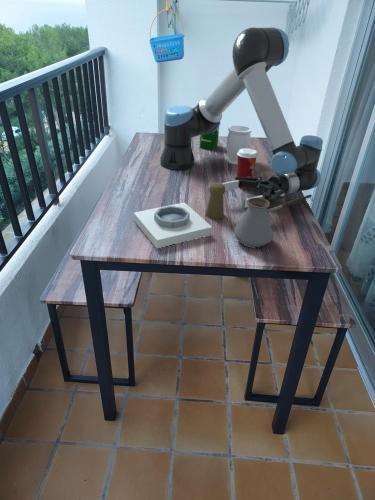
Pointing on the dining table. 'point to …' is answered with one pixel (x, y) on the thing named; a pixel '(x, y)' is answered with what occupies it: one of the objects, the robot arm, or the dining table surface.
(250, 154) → the paper cup
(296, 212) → the dining table surface
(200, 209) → the dining table surface
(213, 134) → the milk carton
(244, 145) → the jar
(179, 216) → the base plate
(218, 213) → the cork
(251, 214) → the coffee pot
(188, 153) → the robot arm
